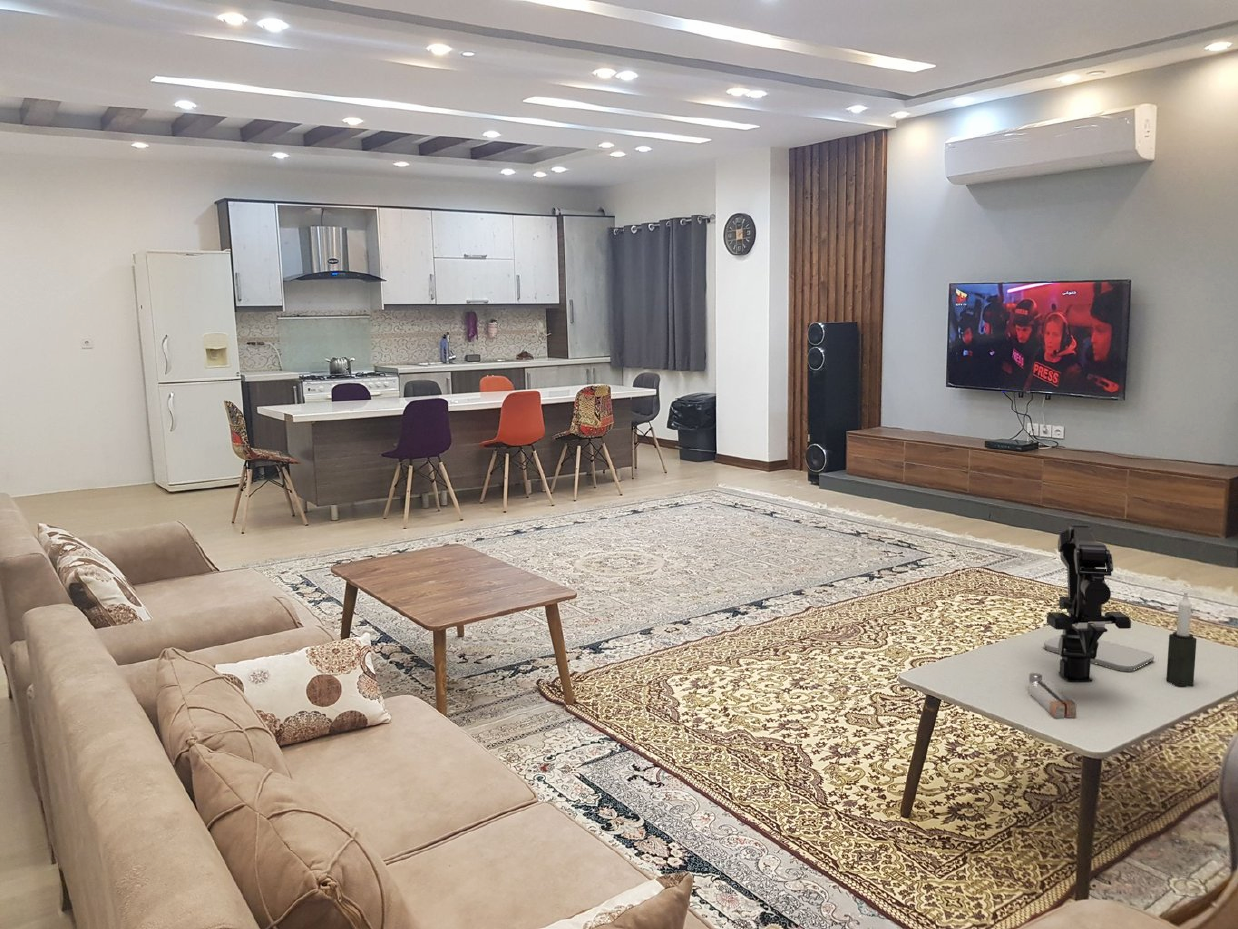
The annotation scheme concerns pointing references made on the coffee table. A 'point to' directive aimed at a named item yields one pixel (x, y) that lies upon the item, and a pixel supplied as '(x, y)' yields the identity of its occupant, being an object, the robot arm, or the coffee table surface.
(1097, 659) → the tablet
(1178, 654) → the candle
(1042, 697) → the base
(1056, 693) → the tongs arm
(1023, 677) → the coffee table surface
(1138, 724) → the coffee table surface
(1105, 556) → the robot arm
